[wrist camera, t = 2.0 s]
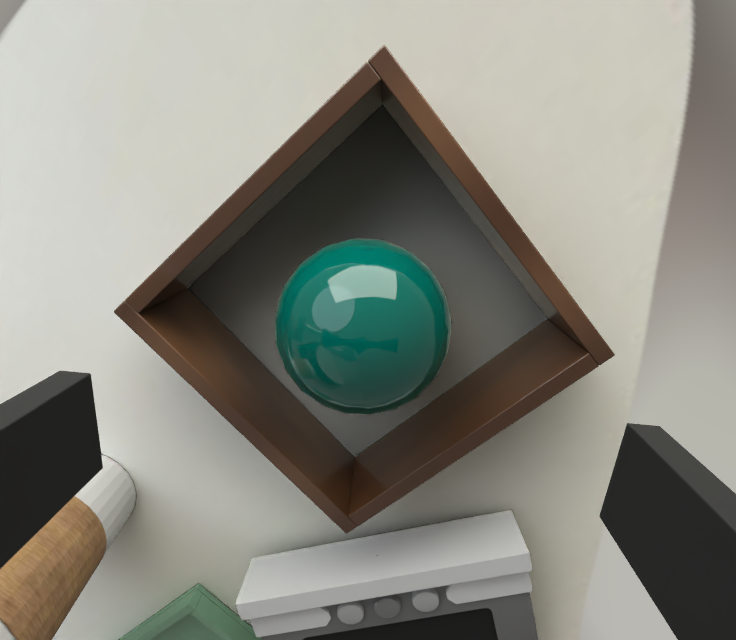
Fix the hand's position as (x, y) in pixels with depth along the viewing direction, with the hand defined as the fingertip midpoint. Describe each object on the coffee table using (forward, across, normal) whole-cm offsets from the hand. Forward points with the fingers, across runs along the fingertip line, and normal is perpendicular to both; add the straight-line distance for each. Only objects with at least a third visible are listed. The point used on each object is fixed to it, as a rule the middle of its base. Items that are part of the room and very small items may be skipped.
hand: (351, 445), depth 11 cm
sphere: (+14, 0, 0) cm, 14 cm away
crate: (+13, 0, 0) cm, 13 cm away
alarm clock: (+13, +4, -23) cm, 27 cm away
